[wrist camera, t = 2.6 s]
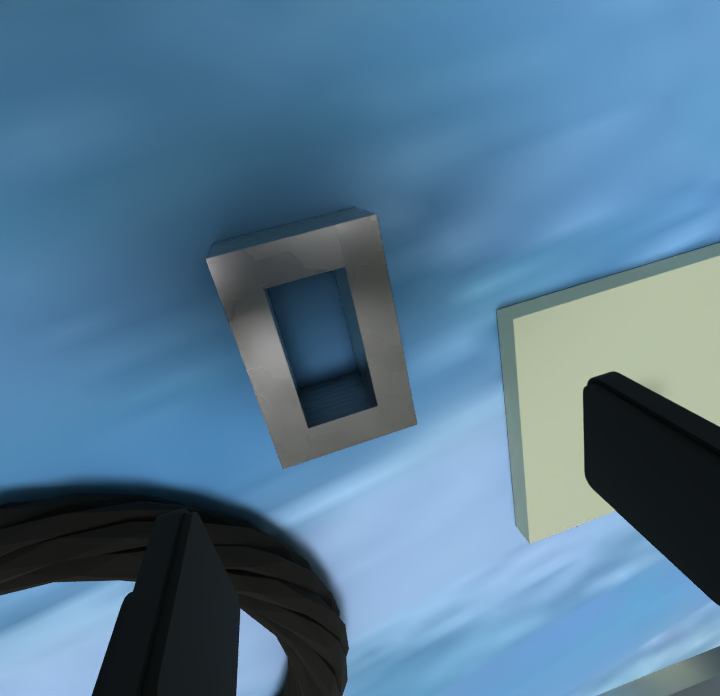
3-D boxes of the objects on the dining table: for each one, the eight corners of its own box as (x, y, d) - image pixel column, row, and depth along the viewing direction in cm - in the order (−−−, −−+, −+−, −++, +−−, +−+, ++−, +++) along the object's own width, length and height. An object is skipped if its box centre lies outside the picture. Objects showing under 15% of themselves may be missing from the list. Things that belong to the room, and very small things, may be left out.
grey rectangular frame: (212, 243, 18) (205, 258, 14) (354, 207, 18) (376, 214, 15) (277, 425, 21) (282, 469, 18) (392, 388, 22) (417, 424, 19)
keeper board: (496, 310, 22) (586, 359, 16) (731, 238, 24) (887, 260, 18) (516, 526, 28) (585, 617, 22) (701, 456, 30) (810, 524, 24)
